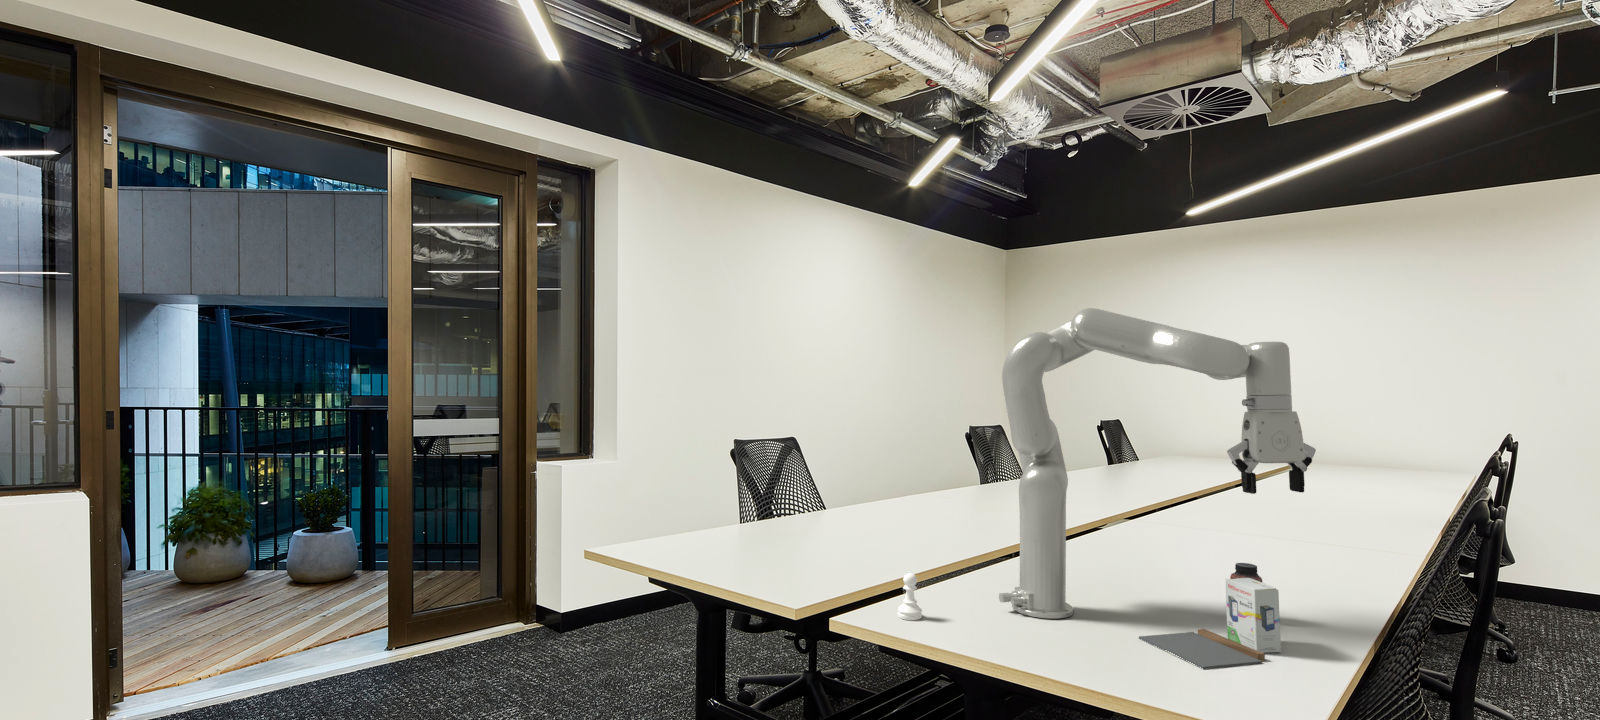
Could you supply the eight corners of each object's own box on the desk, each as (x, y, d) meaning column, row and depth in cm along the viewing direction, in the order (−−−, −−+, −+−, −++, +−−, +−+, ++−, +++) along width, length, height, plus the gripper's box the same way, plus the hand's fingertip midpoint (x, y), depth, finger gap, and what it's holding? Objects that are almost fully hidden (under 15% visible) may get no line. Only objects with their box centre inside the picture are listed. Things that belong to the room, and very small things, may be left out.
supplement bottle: (1267, 623, 156) (1267, 568, 157) (1236, 621, 157) (1236, 567, 158) (1256, 615, 162) (1256, 562, 162) (1225, 613, 163) (1225, 560, 164)
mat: (1203, 669, 130) (1203, 666, 130) (1138, 638, 146) (1138, 636, 146) (1261, 663, 134) (1261, 661, 134) (1192, 633, 149) (1192, 631, 149)
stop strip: (1258, 661, 135) (1258, 654, 135) (1197, 635, 148) (1197, 629, 148) (1264, 660, 135) (1264, 653, 135) (1203, 635, 148) (1203, 628, 149)
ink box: (1281, 653, 139) (1281, 588, 139) (1255, 654, 138) (1255, 589, 139) (1249, 637, 147) (1249, 576, 148) (1224, 638, 147) (1224, 577, 147)
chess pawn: (910, 612, 160) (911, 569, 161) (926, 618, 156) (927, 574, 156) (892, 615, 158) (893, 572, 158) (908, 622, 153) (909, 577, 154)
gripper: (1239, 405, 144) (1243, 496, 143) (1325, 404, 145) (1330, 493, 144) (1215, 405, 152) (1218, 491, 151) (1297, 403, 153) (1301, 488, 152)
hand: (1273, 492), depth 148 cm, fingers open, 9 cm apart
